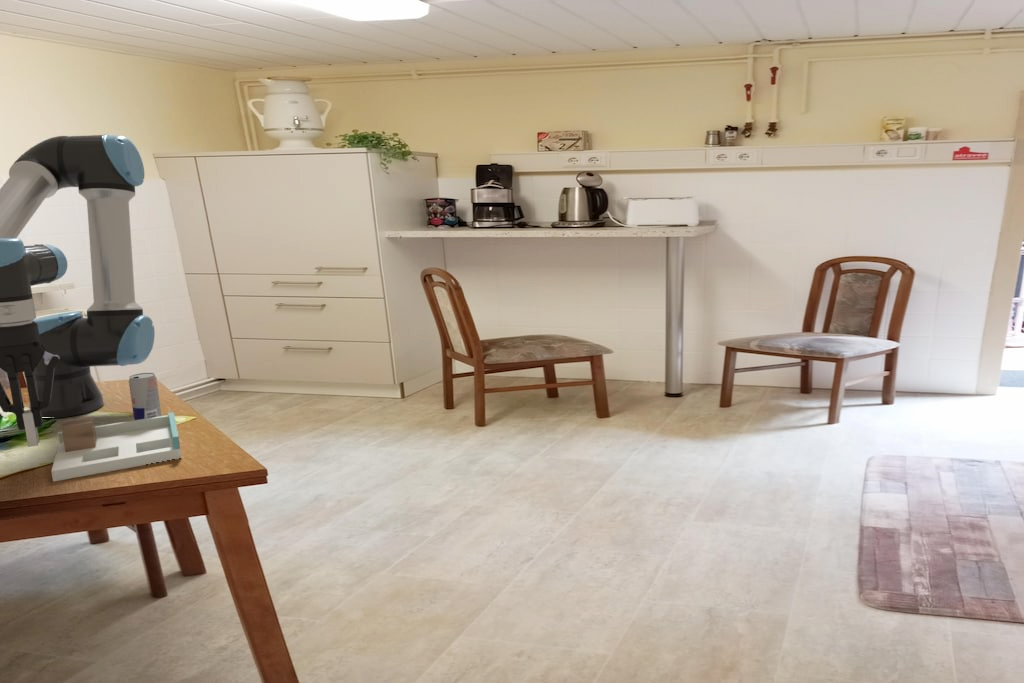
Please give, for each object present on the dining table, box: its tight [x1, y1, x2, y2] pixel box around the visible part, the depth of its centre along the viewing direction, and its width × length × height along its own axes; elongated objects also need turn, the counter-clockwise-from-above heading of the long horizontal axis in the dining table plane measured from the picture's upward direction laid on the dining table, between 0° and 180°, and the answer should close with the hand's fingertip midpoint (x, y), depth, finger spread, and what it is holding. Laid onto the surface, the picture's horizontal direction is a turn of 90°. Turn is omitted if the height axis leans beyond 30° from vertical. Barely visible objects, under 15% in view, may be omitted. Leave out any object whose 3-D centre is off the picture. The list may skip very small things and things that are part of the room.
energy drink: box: [128, 372, 163, 420], centre depth 151 cm, size 5×5×12 cm
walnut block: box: [61, 415, 97, 452], centre depth 136 cm, size 5×5×5 cm
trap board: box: [51, 411, 182, 483], centre depth 137 cm, size 18×21×4 cm
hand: (33, 443), depth 133 cm, fingers closed
